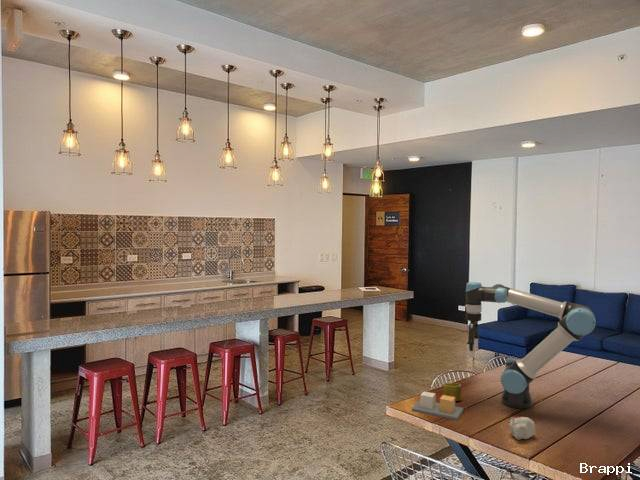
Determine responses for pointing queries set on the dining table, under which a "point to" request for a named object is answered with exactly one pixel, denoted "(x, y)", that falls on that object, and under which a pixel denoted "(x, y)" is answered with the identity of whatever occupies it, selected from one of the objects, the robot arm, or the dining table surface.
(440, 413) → the board
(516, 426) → the white lumpy piece
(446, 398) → the light orange cube
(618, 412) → the dining table surface
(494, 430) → the dining table surface
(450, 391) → the mug
